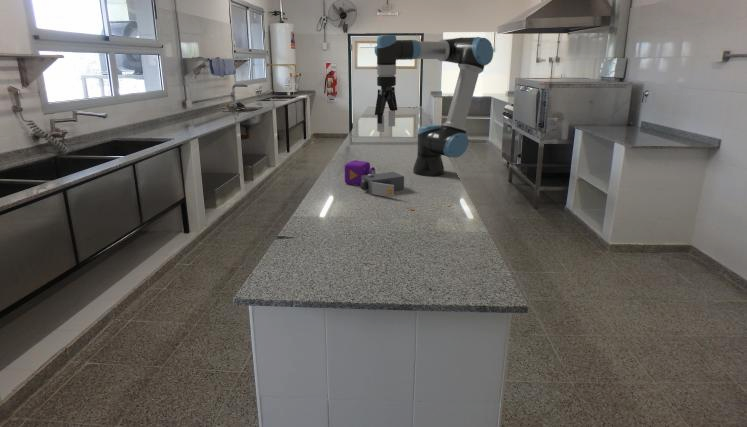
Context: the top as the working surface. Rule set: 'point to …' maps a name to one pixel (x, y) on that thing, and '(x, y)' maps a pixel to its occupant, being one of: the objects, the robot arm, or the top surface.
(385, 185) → the side door
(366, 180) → the box
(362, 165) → the toy camera
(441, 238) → the top surface
